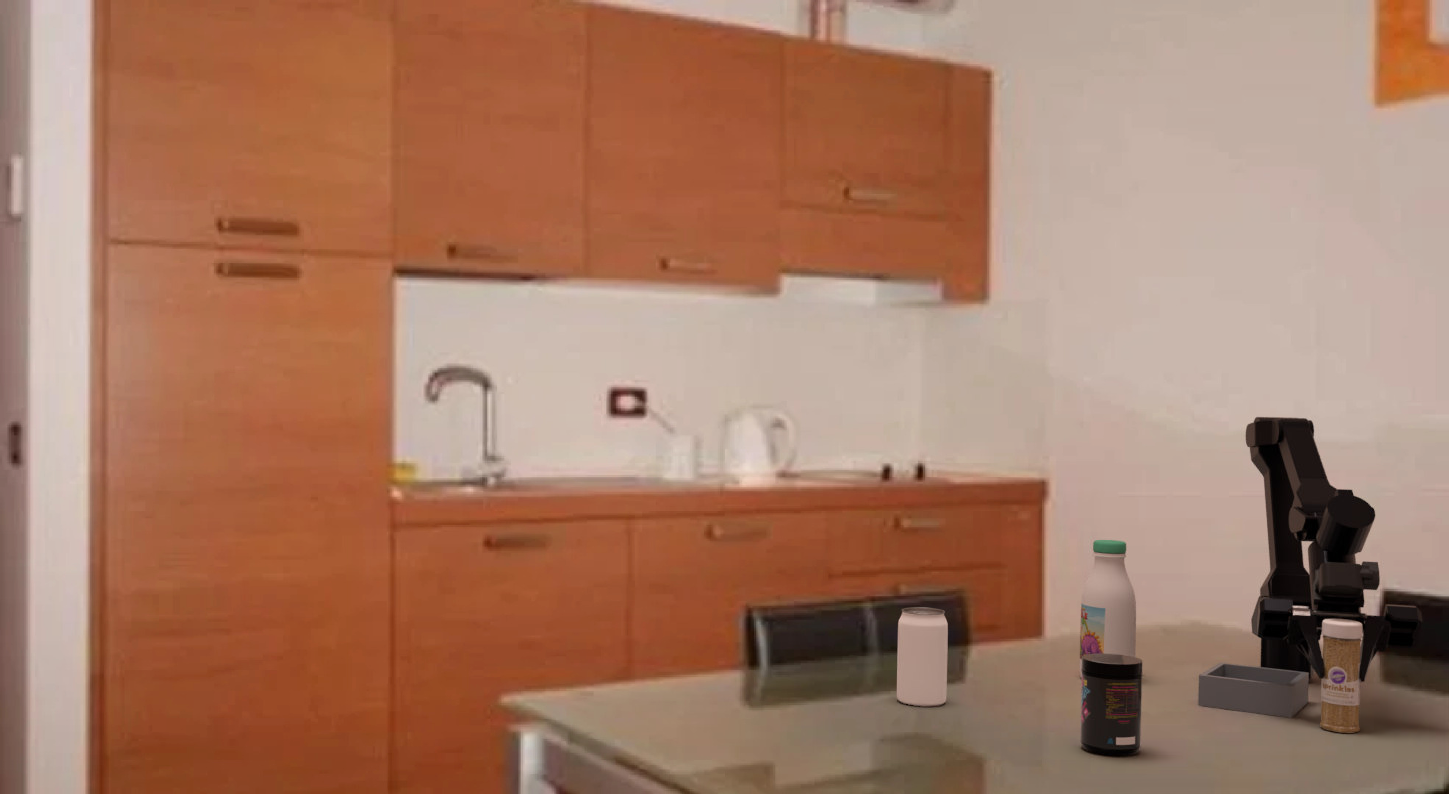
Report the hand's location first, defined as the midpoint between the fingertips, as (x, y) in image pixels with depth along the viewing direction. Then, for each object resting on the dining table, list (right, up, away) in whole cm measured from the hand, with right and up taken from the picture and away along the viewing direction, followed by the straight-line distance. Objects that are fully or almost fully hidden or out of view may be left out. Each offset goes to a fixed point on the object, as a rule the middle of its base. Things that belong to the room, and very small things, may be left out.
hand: (1342, 678), depth 168 cm
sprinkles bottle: (0, -7, +1) cm, 7 cm away
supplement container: (-32, -6, -11) cm, 34 cm away
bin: (-5, -7, +15) cm, 17 cm away
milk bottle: (-20, -7, +30) cm, 37 cm away
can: (-50, -6, +12) cm, 52 cm away
